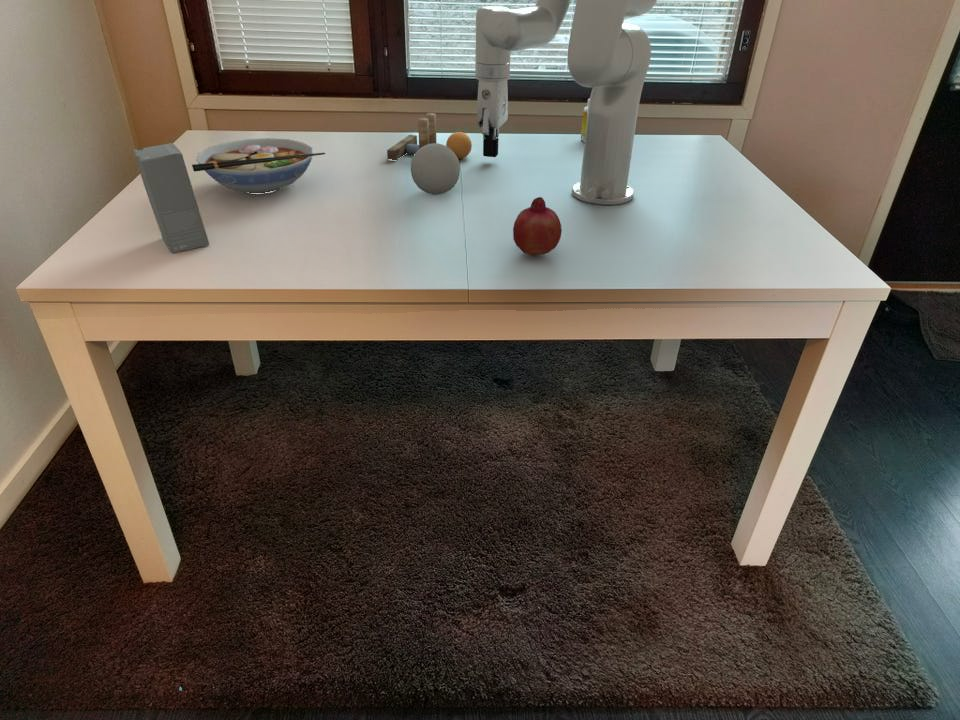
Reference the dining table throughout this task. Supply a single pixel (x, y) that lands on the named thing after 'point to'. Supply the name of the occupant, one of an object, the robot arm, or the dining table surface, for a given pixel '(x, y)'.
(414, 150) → the front pin
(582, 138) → the supplement bottle
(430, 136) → the pin
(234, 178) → the ramen bowl
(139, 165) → the skincare box
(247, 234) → the dining table surface
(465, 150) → the orange ball
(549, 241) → the fruit
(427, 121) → the pin
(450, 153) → the ball
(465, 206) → the dining table surface
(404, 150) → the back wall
